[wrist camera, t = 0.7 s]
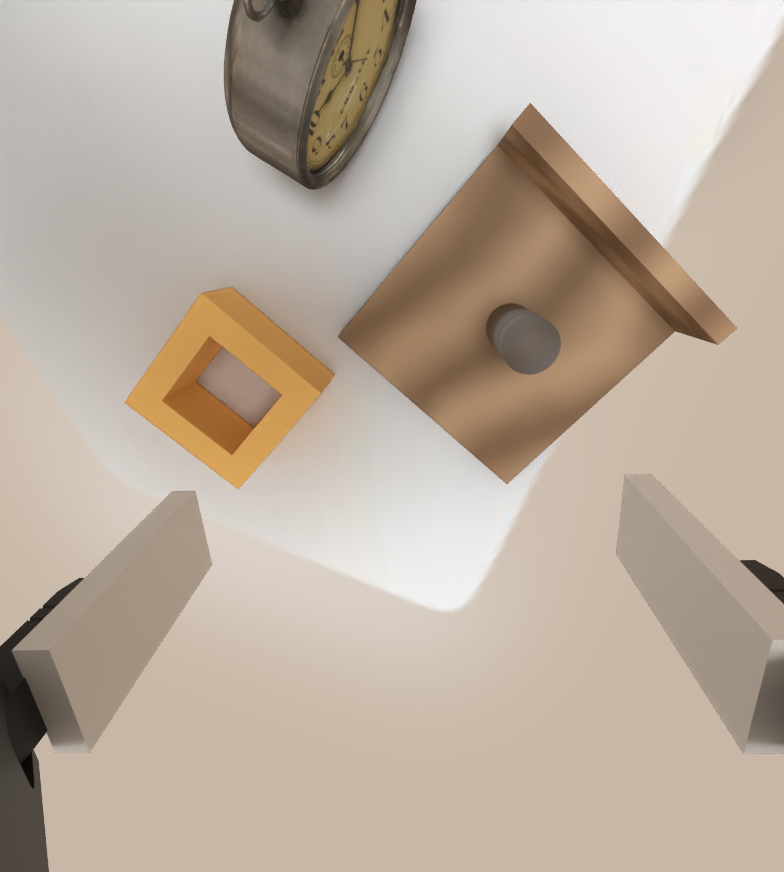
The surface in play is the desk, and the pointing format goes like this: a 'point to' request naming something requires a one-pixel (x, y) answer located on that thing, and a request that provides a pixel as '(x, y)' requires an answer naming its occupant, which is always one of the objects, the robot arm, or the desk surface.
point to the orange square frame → (203, 413)
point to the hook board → (526, 302)
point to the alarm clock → (310, 78)
